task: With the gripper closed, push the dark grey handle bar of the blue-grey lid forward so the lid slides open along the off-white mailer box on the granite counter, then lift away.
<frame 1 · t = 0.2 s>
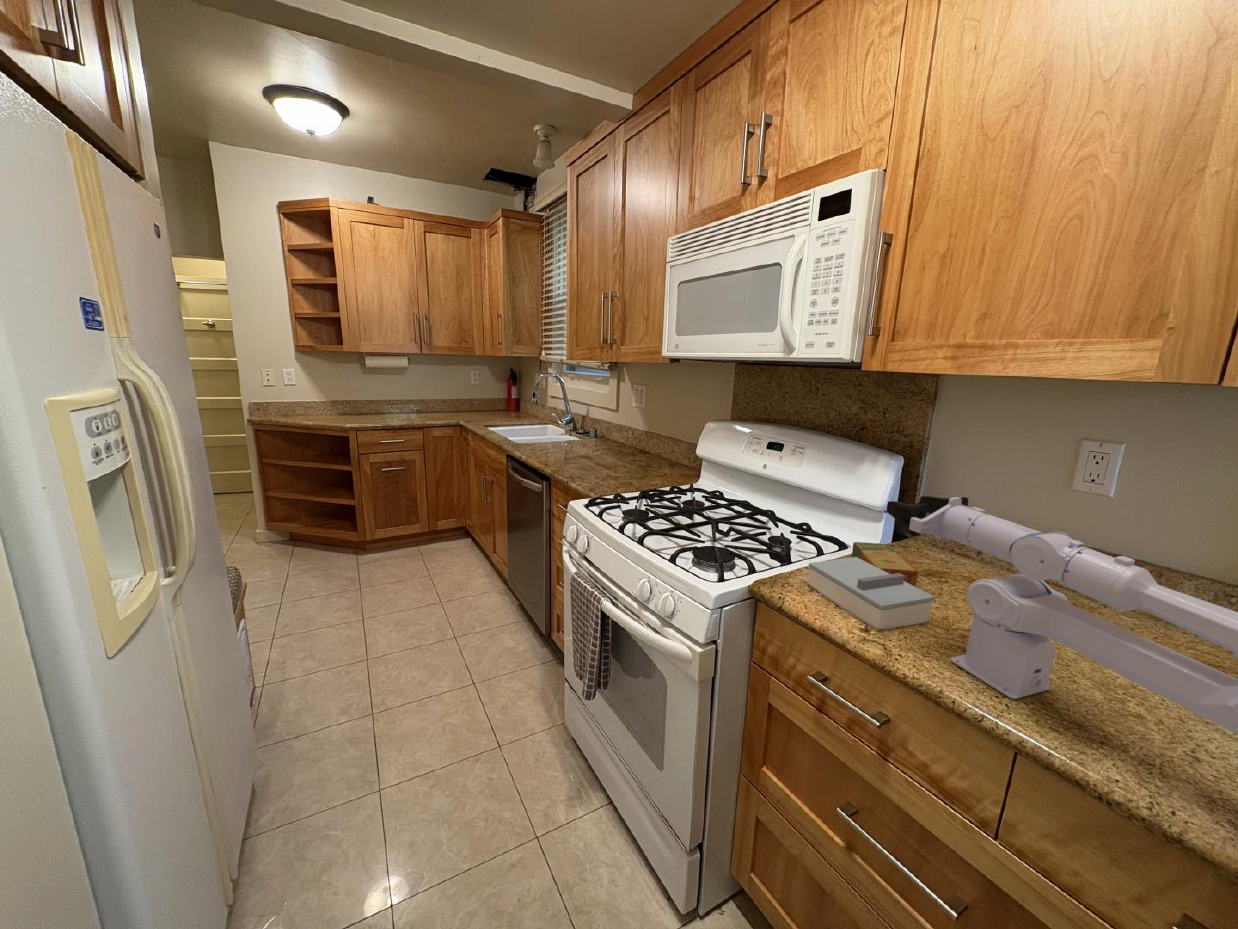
hand: (904, 504, 87), 21 cm above the counter, tool horizontal, fingers open, 7 cm apart
lid: (868, 576, 94), point 6 cm above the counter, slide at 0.0 cm
carton: (880, 572, 110), on the counter
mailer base: (864, 602, 95), on the counter
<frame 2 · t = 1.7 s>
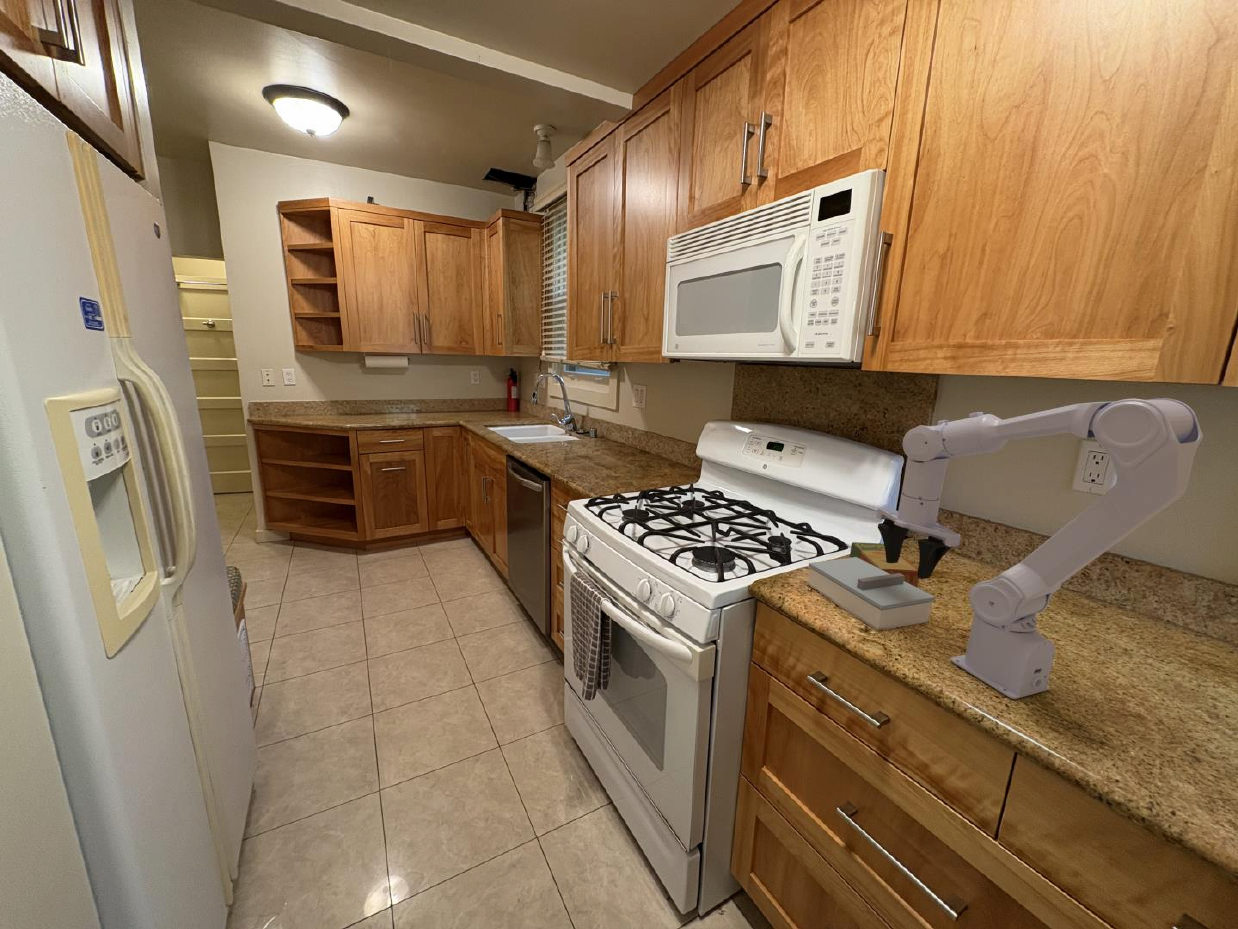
hand: (907, 569, 85), 10 cm above the counter, tool pointing down, fingers open, 6 cm apart
nothing on the counter moved.
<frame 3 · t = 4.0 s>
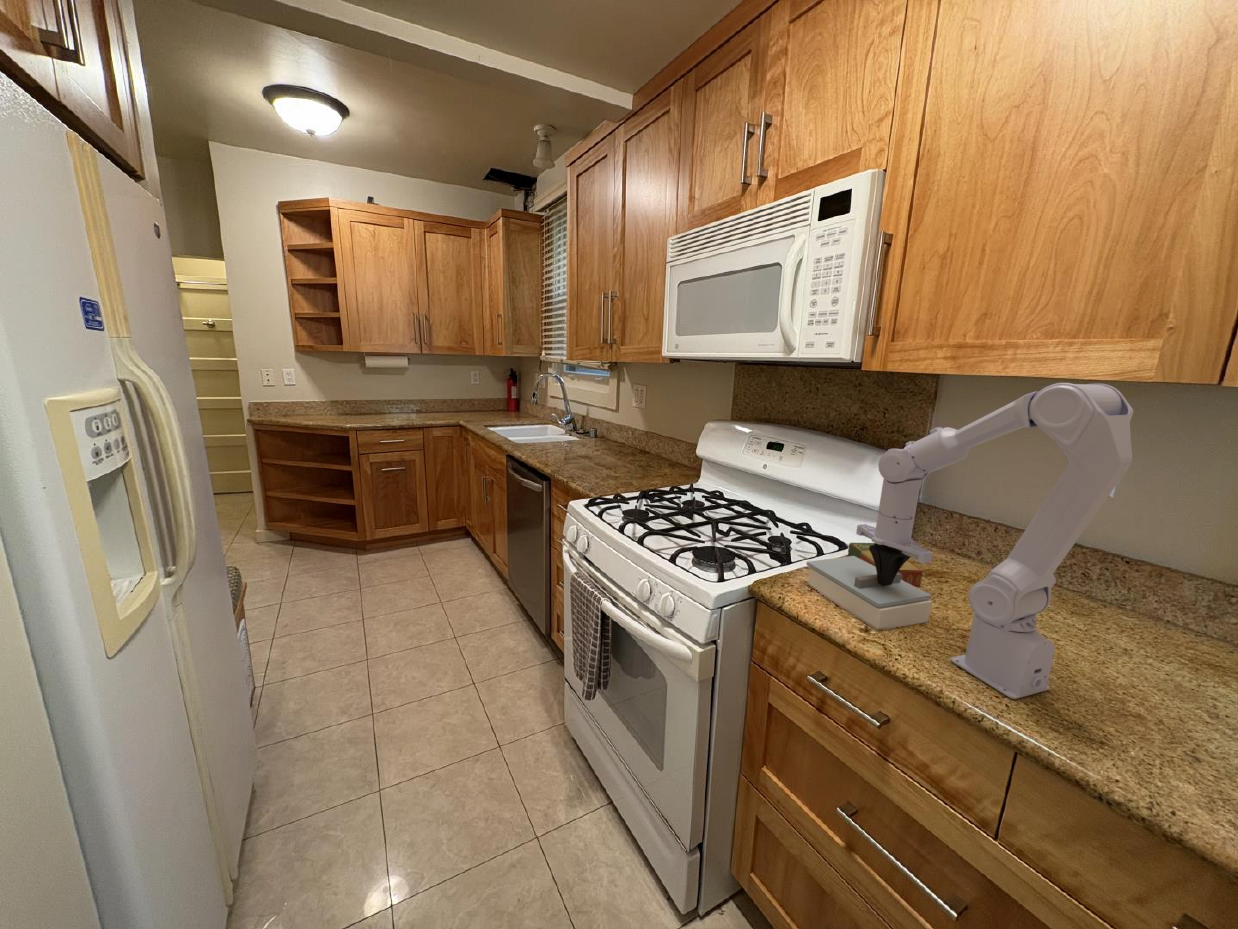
hand: (884, 584, 90), 6 cm above the counter, tool pointing down, fingers closed
lid: (865, 574, 94), point 6 cm above the counter, slide at 0.7 cm, touching gripper
everything else where it was.
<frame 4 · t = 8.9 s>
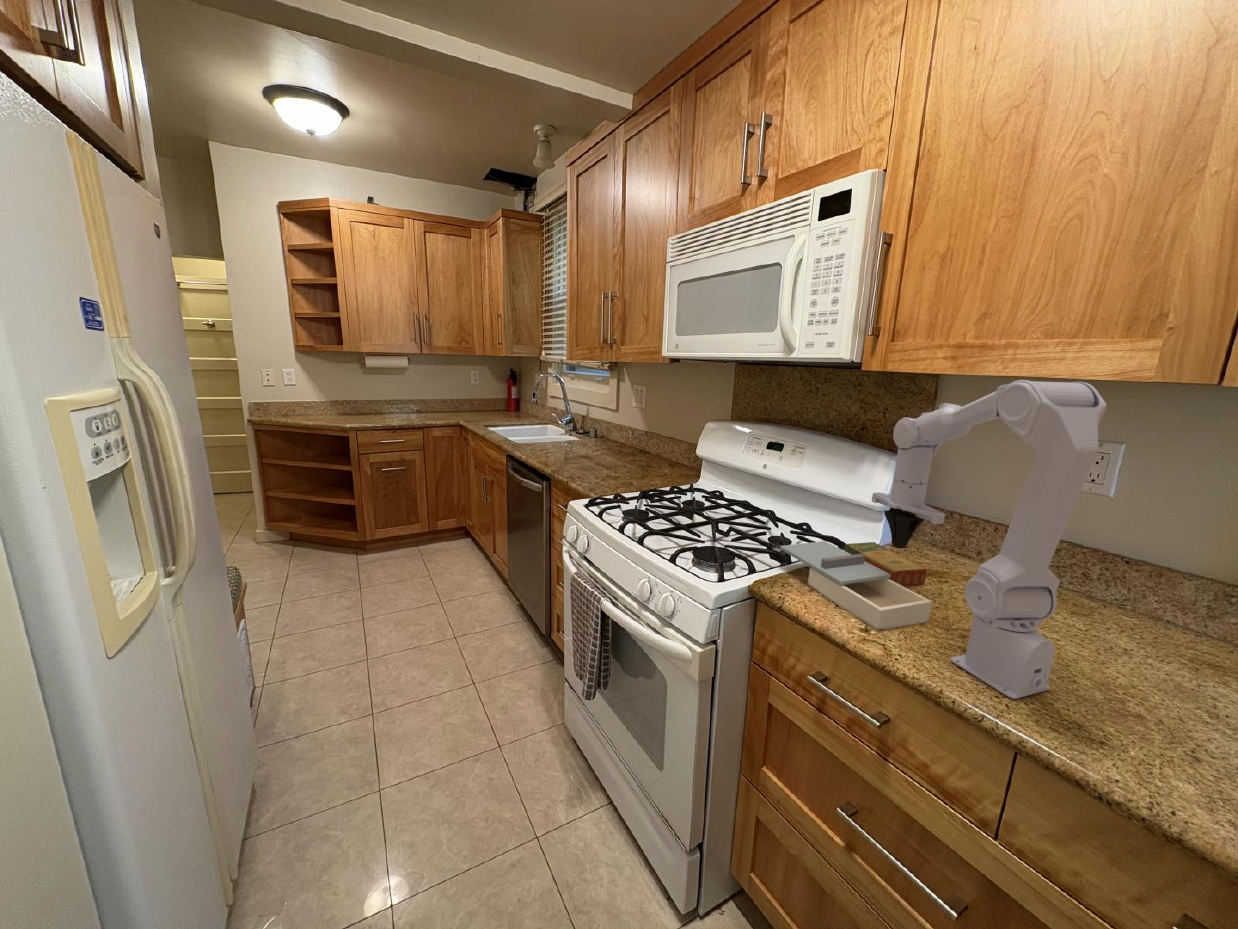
hand: (899, 546, 96), 10 cm above the counter, tool pointing down, fingers closed
lid: (832, 557, 102), point 6 cm above the counter, slide at 9.5 cm
at the end: lid slide at 9.5 cm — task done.
